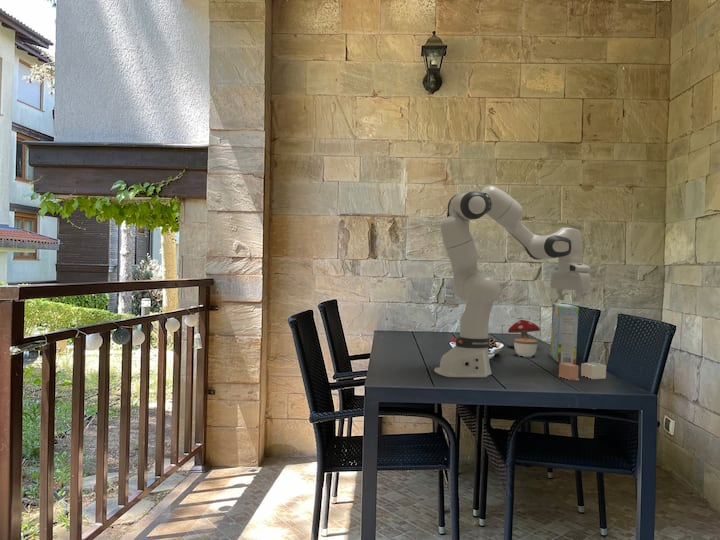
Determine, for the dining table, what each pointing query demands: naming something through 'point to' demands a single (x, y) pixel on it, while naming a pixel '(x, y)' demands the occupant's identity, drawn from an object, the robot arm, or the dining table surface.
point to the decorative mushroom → (523, 328)
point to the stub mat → (569, 379)
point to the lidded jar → (525, 347)
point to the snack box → (564, 333)
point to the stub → (568, 370)
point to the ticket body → (593, 370)
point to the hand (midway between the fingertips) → (568, 300)
